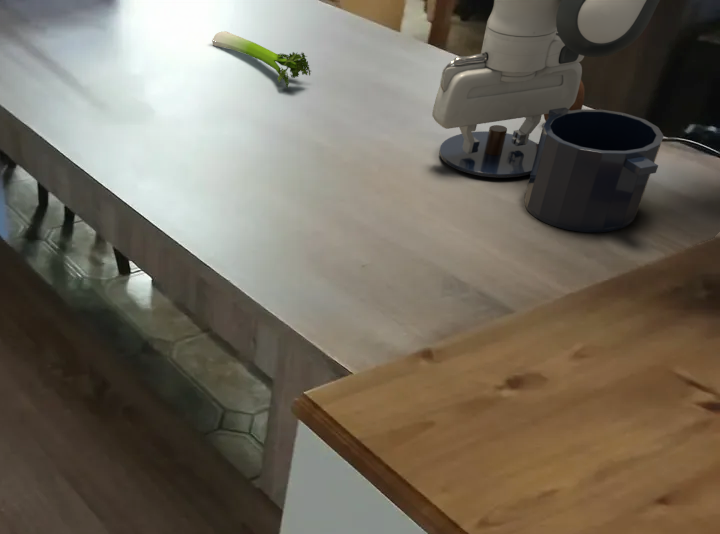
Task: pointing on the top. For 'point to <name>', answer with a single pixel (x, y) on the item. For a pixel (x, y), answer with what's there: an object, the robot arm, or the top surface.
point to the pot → (591, 169)
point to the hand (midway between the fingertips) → (494, 147)
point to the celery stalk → (264, 55)
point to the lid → (490, 154)
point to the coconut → (578, 101)
